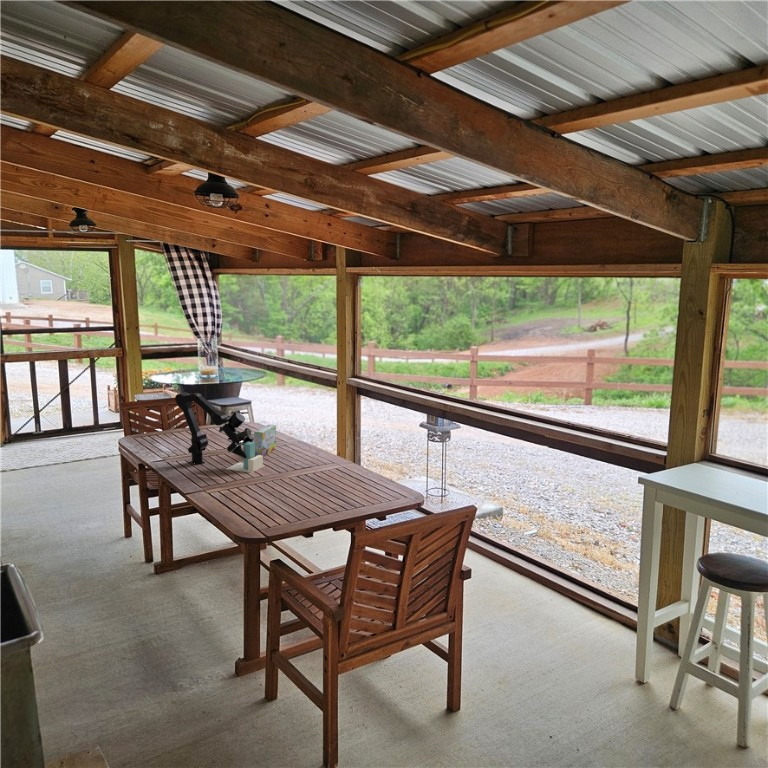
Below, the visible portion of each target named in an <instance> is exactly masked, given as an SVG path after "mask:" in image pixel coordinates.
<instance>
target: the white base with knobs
mask: <svg viewBox="0 0 768 768" xmlns="http://www.w3.org/2000/svg"><path fill="white" fill-rule="evenodd" d="M263 467H265V465H264V457H263V456H262V455H257V456H254V457H252V458H251V459H248V469H247V468H243V462H240V461H239V462H237V463H235V464H233V465H231V466H229V467H227V468H225V470H231V471H237V472H243V473H251V474H252V473H253V472H256V471H257V470H259V469H261V468H263Z"/></svg>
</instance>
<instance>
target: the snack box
mask: <svg viewBox="0 0 768 768" xmlns="http://www.w3.org/2000/svg"><path fill="white" fill-rule="evenodd" d="M276 435H277V425H276V424H266V425H264V426H262V427H260V428H258V429H257V430H255V431H254V432H253V437H254V439H253V442H254V443H255V452H256V454H255V456H257V455H262V456H263V458H264V457H266V456H267V455H269V454H270V453H272V452H274V451H275V450H276V437H277V436H276ZM274 449H275V450H274ZM271 451H272V452H271ZM268 453H269V454H268Z"/></svg>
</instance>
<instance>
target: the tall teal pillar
mask: <svg viewBox="0 0 768 768" xmlns="http://www.w3.org/2000/svg"><path fill="white" fill-rule="evenodd" d="M242 446H243V447H242V448H243V449H242V450H243V452H244V453H245V455H246V456H247V458H246V459H245V458H243V457H242V459H243V460H242V461H243V462H242V463H243V468H247V469H248V459H251V458H252V457H254V456H255V443H254V441H253V442H247V443H244V444H243V445H242Z"/></svg>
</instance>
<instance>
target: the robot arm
mask: <svg viewBox="0 0 768 768" xmlns="http://www.w3.org/2000/svg"><path fill="white" fill-rule="evenodd" d="M174 401H175V403H176V405H177V407H178V408H180V410H182V412H183V416H184V418H185V420H186V421H185V422H186V423H187V426H188V428H189V431H190V434H191V439H190V442H191V445H190V446H189V447H188V448H187V451H188V453H190V454H191V460H189V461H190V462H191V463H190V462H189V463H190V464H192V463H193V464H192V465H199V464H198V463H201V464H205V463H206V462H205V461H204V460H203V452H204V451H206V448H207V447H208V445H209V439H208V437H207V434H206V433H203V432H201V430H200V426H199V424H198V422H197V421H198V420H197V419H196V416H195V413H194V411H193V408H192V404H193V402H194V403H196V405H198V406H199V407H200V408H201V409H202V410H203V411H204V412H205V413H207V414H208V416H209V418H210V419H211V421H212V423H213V424H214V425H215V426H218V427H219V430H218V432H219V433H222V432H224V434H225V436H227V440H228V441H231V443H230V444H229V445H228V446H227V447H226V450H227V452H228V453H231V454H234V455H237V456H239V457H241V458H242V459H243V458H245V459H246V458H247V456H246V455H245V453H244V452H243V449H242V446H243V444H244V443H247V442H254V435H252V429H251V428H250V427H247V428H244V431H241V430H237V429H238V428H239V427H240V426H241V425H242V424H243V423H245V421H246V417H245V416H244V415H243V414H241V413H239V412H238V411H235V412H233V413H232V415H228V414H227V413H225V412H224V411H222V410H220V409H217V408H216V407H215V406H213V404H212V403H211V402H209V401H208V400H207V398H205V397H204V396H203V395H202V393H200V392H196V393H194V392H193V393H189V392H187V391H184V392H181V393H177V394H176V395H175V397H174ZM222 425H223V426H222ZM255 454H256V452H255ZM194 463H195V464H194Z"/></svg>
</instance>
